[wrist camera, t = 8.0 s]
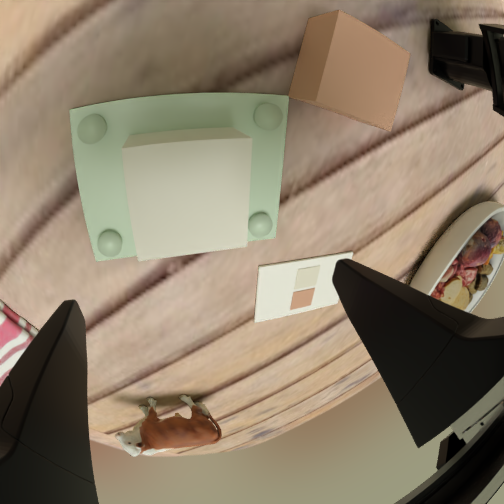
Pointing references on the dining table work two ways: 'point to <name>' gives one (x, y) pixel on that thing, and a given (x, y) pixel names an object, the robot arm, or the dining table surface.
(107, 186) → the plate
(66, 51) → the dining table surface
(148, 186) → the cream brick
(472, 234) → the bowl
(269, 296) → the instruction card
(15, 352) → the dish towel
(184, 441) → the bull figurine
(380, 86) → the terracotta brick
